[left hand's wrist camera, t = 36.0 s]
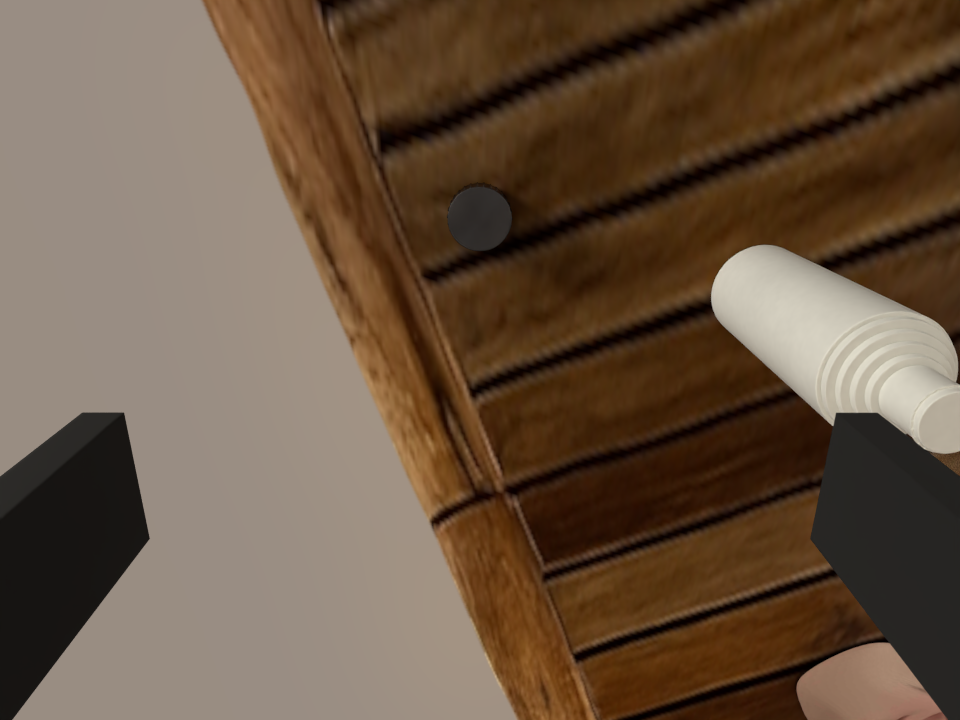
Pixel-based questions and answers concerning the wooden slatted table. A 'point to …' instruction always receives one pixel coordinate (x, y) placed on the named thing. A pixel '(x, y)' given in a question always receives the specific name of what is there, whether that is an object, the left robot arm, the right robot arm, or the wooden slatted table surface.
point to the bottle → (842, 344)
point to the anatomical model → (865, 688)
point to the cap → (479, 217)
